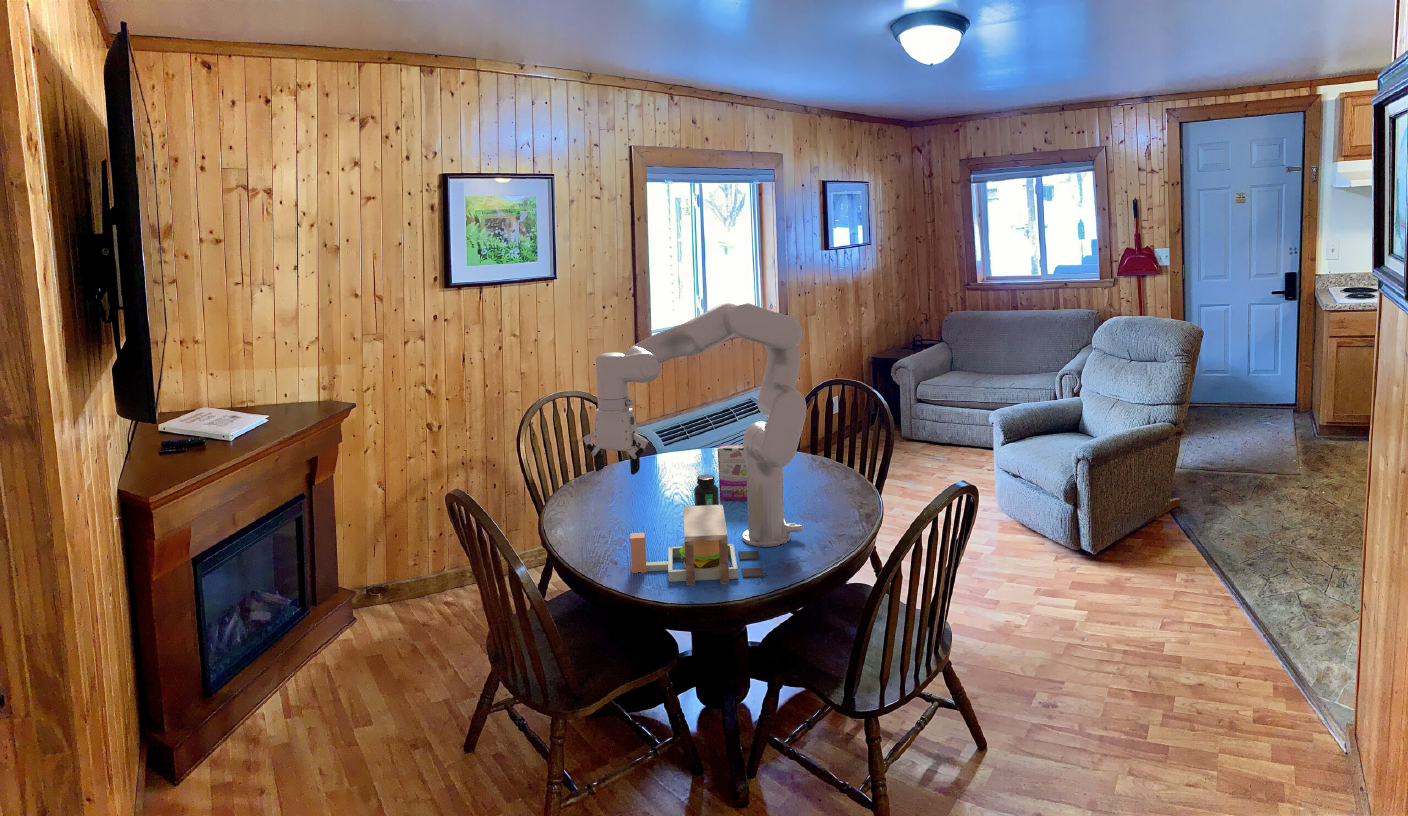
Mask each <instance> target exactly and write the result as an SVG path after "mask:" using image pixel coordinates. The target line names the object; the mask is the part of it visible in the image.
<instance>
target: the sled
mask: <svg viewBox="0 0 1408 816" xmlns="http://www.w3.org/2000/svg"><path fill="white" fill-rule="evenodd" d="M629 543H630V544H629V545H630V560H631V561H630V562H631V563H630V565H631V573H632V574H639V573H638V572H641V573H643V574H644V573H647V572H656V571H657V572H658V571H667V572H668V575H667V578H668V582H669V583H670V582H686V568H685V569H674V558H681V554H680V553H679V550H680V547H683V545H681V546H668V550H667V551H668V557H667V559H668V560H667V561H647V549H646V548H647V547H646V546H647V545H646V534H645V532H632V533H631V532H630V534H629ZM734 546H735V545H734V543H729V544H728V556H729V557H730V563H731V564H730V565H731V567H730V566H728V568H729V580H730V579H732V580H733V579H734V580H735V579H738V578H739V575H738V573H739V571H738V565H737V558H736V552H735V551H736V550H735V547H734ZM694 570H695V581H708V580H709V581H710V580H720V568H704V569H694Z"/></svg>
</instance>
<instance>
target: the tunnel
mask: <svg viewBox="0 0 1408 816" xmlns="http://www.w3.org/2000/svg"><path fill="white" fill-rule="evenodd" d="M723 505H724V504H719V505H705V506H695V505H690V506H689V505H687V506H686V505H685V506H684V505H683V529H684V531H683V532H684V542H685V560H686V568H685V569H686V581H685V582H686V586H696V580H695V570H694V546H693V541H708V540H719V562H720V579H719V581H720V582H719V583H720V585H723V584H724V585H727V584H730V579H729V568H728V567H729V555H728V543H729V540H728V539H729V538H728V531H727V524H726V516H725V511H724V506H723Z"/></svg>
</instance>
